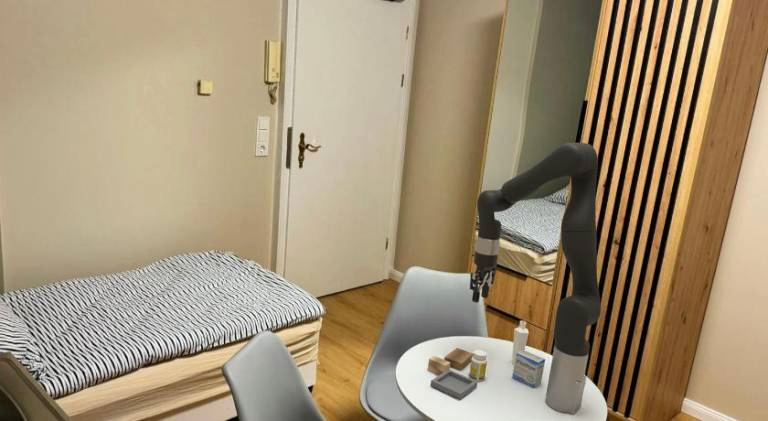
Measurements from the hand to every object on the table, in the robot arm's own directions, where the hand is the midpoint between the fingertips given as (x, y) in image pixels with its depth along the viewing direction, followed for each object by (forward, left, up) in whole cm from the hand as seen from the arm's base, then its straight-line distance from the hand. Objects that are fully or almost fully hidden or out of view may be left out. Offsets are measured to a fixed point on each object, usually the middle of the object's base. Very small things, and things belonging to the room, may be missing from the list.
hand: (480, 299), depth 180 cm
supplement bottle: (-9, +13, -20) cm, 26 cm away
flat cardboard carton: (0, +9, -20) cm, 22 cm away
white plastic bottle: (-14, -4, -20) cm, 25 cm away
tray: (-7, +24, -20) cm, 32 cm away
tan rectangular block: (+1, +20, -20) cm, 28 cm away
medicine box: (-21, +3, -20) cm, 29 cm away
